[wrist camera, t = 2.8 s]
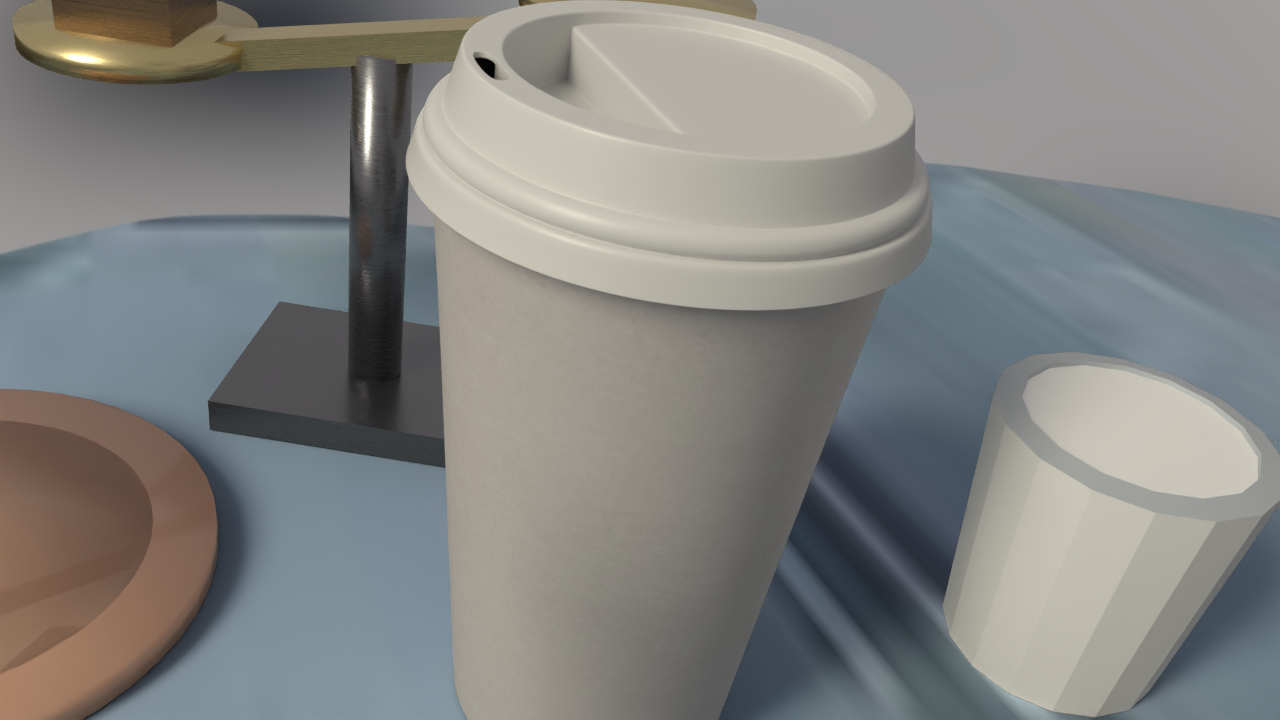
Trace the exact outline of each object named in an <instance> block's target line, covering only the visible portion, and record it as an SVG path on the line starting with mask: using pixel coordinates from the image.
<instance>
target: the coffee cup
mask: <svg viewBox="0 0 1280 720" xmlns="http://www.w3.org/2000/svg"><path fill="white" fill-rule="evenodd" d="M406 170H407V174H408V177H409V180H410V182H411V184H412V186H413V188H414V190H415V192H416V193H417V195H418V196H419V197H420V199H421V200H422V201H423V203H424V204H425V205H426V206H427V207H428V208H429V209H430V210H431V211H432V212H433V213H434V226H435V245H436V264H437V284H438V304H439V326H440V348H441V370H442V394H443V417H444V442H445V466H446V491H447V516H448V541H449V566H450V592H451V618H452V644H453V668H454V682H455V689H456V693H457V697H458V700H459V703H460V705H461V708H462V710H463V712H464V714H465V716H466V717H467V719H468V720H718V719H719V717H720V714H721V712H722V709H723V707H724V704H725V702H726V699H727V696H728V694H729V691H730V689H731V686H732V683H733V681H734V678H735V676H736V673H737V670H738V668H739V665H740V663H741V660H742V657H743V655H744V652H745V649H746V647H747V644H748V642H749V639H750V636H751V634H752V631H753V629H754V626H755V623H756V621H757V618H758V616H759V613H760V610H761V608H762V605H763V603H764V600H765V597H766V595H767V592H768V590H769V587H770V584H771V582H772V579H773V577H774V574H775V571H776V569H777V566H778V564H779V561H780V558H781V556H782V553H783V551H784V548H785V545H786V543H787V540H788V538H789V535H790V532H791V530H792V527H793V525H794V522H795V519H796V517H797V514H798V512H799V509H800V506H801V504H802V501H803V499H804V496H805V493H806V491H807V488H808V486H809V483H810V480H811V478H812V475H813V473H814V470H815V468H816V465H817V462H818V460H819V457H820V455H821V452H822V449H823V447H824V444H825V442H826V439H827V437H828V434H829V431H830V429H831V426H832V424H833V421H834V419H835V416H836V413H837V411H838V408H839V406H840V403H841V401H842V398H843V396H844V393H845V390H846V388H847V385H848V383H849V380H850V378H851V375H852V373H853V370H854V368H855V365H856V363H857V360H858V357H859V355H860V352H861V350H862V347H863V345H864V342H865V340H866V337H867V335H868V332H869V330H870V327H871V325H872V322H873V320H874V317H875V315H876V312H877V310H878V307H879V305H880V302H881V300H882V297H883V295H884V292H885V290H886V288H887V287H889V286H891V285H893V284H895V283H897V282H898V281H900V280H902V279H903V278H905V277H906V276H908V275H909V274H910V273H911V272H913V271H914V270H915V269H916V268H917V267H918V266H919V265H920V264H921V262H922V261H923V260H924V258H925V256H926V255H927V253H928V251H929V248H930V244H931V239H932V198H931V193H930V189H929V177H928V173H927V170H926V167H925V164H924V162H923V160H922V158H921V157H920V155H919V153H918V152H917V151H916V149H915V111H914V107H913V104H912V102H911V100H910V98H909V96H908V95H907V93H906V92H905V91H904V90H903V89H902V88H901V87H900V85H898V84H897V83H896V82H895V81H894V80H893V79H892V78H890V77H889V76H888V75H886V74H885V73H884V72H882V71H881V70H879V69H878V68H876V67H874V66H873V65H871V64H870V63H868V62H866V61H864V60H862V59H860V58H859V57H857V56H854V55H853V54H851V53H848V52H846V51H844V50H842V49H840V48H837V47H835V46H833V45H830V44H828V43H825V42H823V41H820V40H817V39H815V38H812V37H809V36H806V35H803V34H800V33H797V32H794V31H791V30H788V29H784V28H781V27H777V26H774V25H770V24H766V23H762V22H759V21H755V20H751V19H747V18H742V17H738V16H733V15H728V14H723V13H718V12H713V11H707V10H702V9H695V8H689V7H682V6H675V5H666V4H657V3H647V2H634V1H616V0H572V1H556V2H546V3H538V4H531V5H525V6H520V7H516V8H512V9H508V10H505V11H501V12H498V13H495V14H493V15H490V16H488V17H486V18H484V19H482V20H481V21H479V22H477V23H476V24H475V25H473V26H472V27H471V28H470V29H469V30H468V31H467V33H466V34H465V36H464V37H463V40H462V42H461V45H460V47H459V50H458V53H457V56H456V59H455V62H454V65H453V68H452V71H451V73H449V74H448V75H446V76H445V77H444V78H443V79H442V80H441V81H440V82H439V83H438V84H437V85H436V86H435V87H434V89H433V90H432V91H431V93H430V95H429V97H428V98H427V101H426V103H425V106H424V108H423V109H422V111H421V112H420V114H419V116H418V119H417V122H416V125H415V128H414V132H413V135H412V138H411V141H410V143H409V146H408V149H407V153H406Z"/></svg>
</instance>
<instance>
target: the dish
mask: <svg viewBox="0 0 1280 720" xmlns="http://www.w3.org/2000/svg"><path fill="white" fill-rule="evenodd" d="M217 554H218V527H217V514H216V507H215V500H214V495H213V492H212V490H211V487H210V484H209V482H208V479H207V477H206V475H205V474H204V472H203V470H202V469H201V467H200V466H199V464H198V463H197V461H196V459H195V458H194V457H193V456H192V455H191V454H190V453H189V452H188V451H187V450H186V449H185V448H184V447H183V446H182V445H181V444H180V443H179V442H178V441H177V440H175V439H174V438H173V437H171V436H170V435H169V434H167V433H166V432H165V431H163V430H162V429H160V428H158V427H157V426H155V425H153V424H151V423H150V422H148V421H146V420H144V419H142V418H141V417H138V416H136V415H133V414H131V413H129V412H126V411H124V410H121V409H119V408H116V407H113V406H110V405H106V404H103V403H100V402H96V401H93V400H89V399H84V398H79V397H74V396H69V395H64V394H58V393H50V392H41V391H33V390H15V389H0V720H82V719H84V718H86V717H88V716H89V715H91V714H93V713H94V712H96V711H98V710H99V709H101V708H102V707H104V706H105V705H106V704H108V703H109V702H111V701H112V700H113V699H115V698H116V697H117V696H119V695H120V694H122V693H123V692H124V691H126V690H127V689H129V688H130V687H131V686H133V685H134V684H135V683H136V682H137V681H138V680H139V679H140V678H142V677H143V676H144V675H145V674H146V673H147V672H148V671H149V670H151V669H152V668H153V667H154V666H155V665H156V664H157V663H158V662H159V661H160V660H161V659H162V658H163V657H164V656H165V655H166V654H167V653H168V651H169V650H170V649H171V648H172V647H173V646H174V645H175V644H176V642H177V641H178V640H179V639H180V638H181V637H182V635H183V634H184V633H185V631H186V630H187V628H188V627H189V625H190V624H191V622H192V621H193V619H194V618H195V616H196V615H197V613H198V612H199V610H200V608H201V606H202V604H203V601H204V599H205V597H206V595H207V593H208V591H209V589H210V586H211V583H212V579H213V575H214V572H215V568H216V564H217Z"/></svg>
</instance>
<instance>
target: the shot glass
mask: <svg viewBox="0 0 1280 720" xmlns="http://www.w3.org/2000/svg"><path fill="white" fill-rule="evenodd" d="M1279 505H1280V455H1279V453H1278V452H1277V451H1276V449H1275V448H1274V446H1273V445H1272V443H1271V442H1270V441H1269V439H1268V438H1267V436H1266V435H1265V433H1264V432H1263V431H1262V430H1260V429H1259V428H1258V427H1256V426H1255V425H1254V424H1253V423H1251V422H1250V421H1249V420H1248V419H1246V418H1245V417H1244V416H1242V415H1241V414H1240V413H1239V412H1237V411H1236V410H1235V409H1234V408H1232V407H1231V406H1230V405H1228V404H1227V403H1226V402H1225V401H1223V400H1221V399H1219V398H1217V397H1215V396H1213V395H1211V394H1209V393H1207V392H1205V391H1203V390H1201V389H1199V388H1197V387H1196V386H1194V385H1192V384H1190V383H1188V382H1186V381H1184V380H1182V379H1180V378H1178V377H1176V376H1173V375H1170V374H1167V373H1164V372H1161V371H1158V370H1155V369H1152V368H1149V367H1146V366H1143V365H1140V364H1137V363H1134V362H1130V361H1127V360H1124V359H1119V358H1112V357H1106V356H1099V355H1092V354H1085V353H1078V352H1064V353H1051V354H1039V355H1031V356H1029V357H1027V358H1025V359H1023V360H1021V361H1019V362H1017V363H1015V364H1013V365H1011V366H1009V367H1007V368H1005V369H1004V370H1003V372H1002V375H1001V377H1000V379H999V382H998V384H997V387H996V389H995V391H994V395H993V399H992V403H991V407H990V411H989V415H988V420H987V424H986V428H985V432H984V436H983V440H982V445H981V449H980V453H979V457H978V461H977V465H976V470H975V474H974V478H973V482H972V486H971V490H970V495H969V499H968V503H967V507H966V511H965V515H964V519H963V524H962V528H961V532H960V536H959V540H958V544H957V549H956V553H955V557H954V561H953V565H952V569H951V574H950V578H949V582H948V586H947V590H946V594H945V598H944V603H943V610H944V615H945V619H946V623H947V627H948V631H949V635H950V637H951V638H952V639H953V641H954V642H955V643H956V645H957V646H958V647H959V649H960V650H961V652H962V653H963V654H964V656H965V657H966V658H967V660H968V661H969V662H970V664H971V665H972V666H973V667H974V668H976V669H977V670H978V671H980V672H981V673H982V674H984V675H985V676H986V677H988V678H989V679H990V680H992V681H993V682H994V683H996V684H997V685H998V686H1000V687H1001V688H1002V689H1004V690H1005V691H1006V692H1008V693H1009V694H1012V695H1014V696H1016V697H1019V698H1021V699H1024V700H1026V701H1028V702H1031V703H1033V704H1035V705H1038V706H1040V707H1043V708H1045V709H1047V710H1050V711H1052V712H1060V713H1067V714H1074V715H1081V716H1089V717H1099V716H1104V715H1108V714H1113V713H1117V712H1122V711H1127V710H1130V709H1131V708H1132V707H1133V706H1134V705H1135V704H1136V703H1137V702H1138V701H1139V700H1141V699H1142V698H1143V697H1144V696H1145V695H1146V694H1147V693H1148V692H1149V691H1150V690H1151V688H1152V687H1153V685H1154V684H1155V683H1156V681H1157V680H1158V678H1159V677H1160V675H1161V674H1162V673H1163V671H1164V670H1165V668H1166V667H1167V665H1168V664H1169V663H1170V661H1171V660H1172V658H1173V657H1174V655H1175V654H1176V652H1177V651H1178V650H1179V648H1180V647H1181V645H1182V644H1183V642H1184V641H1185V640H1186V638H1187V637H1188V635H1189V634H1190V632H1191V631H1192V630H1193V628H1194V627H1195V625H1196V624H1197V622H1198V621H1199V620H1200V618H1201V617H1202V615H1203V614H1204V612H1205V611H1206V610H1207V608H1208V607H1209V605H1210V604H1211V602H1212V601H1213V600H1214V598H1215V597H1216V595H1217V594H1218V592H1219V591H1220V590H1221V588H1222V587H1223V585H1224V584H1225V582H1226V581H1227V580H1228V578H1229V577H1230V575H1231V574H1232V572H1233V571H1234V570H1235V568H1236V567H1237V565H1238V564H1239V562H1240V561H1241V560H1242V558H1243V557H1244V555H1245V554H1246V552H1247V551H1248V549H1249V548H1250V547H1251V545H1252V544H1253V542H1254V541H1255V539H1256V538H1257V537H1258V535H1259V534H1260V532H1261V531H1262V529H1263V528H1264V527H1265V525H1266V524H1267V522H1268V521H1269V519H1270V518H1271V517H1272V515H1273V514H1274V512H1275V511H1276V509H1277V508H1278V507H1279Z"/></svg>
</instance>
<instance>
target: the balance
mask: <svg viewBox="0 0 1280 720" xmlns="http://www.w3.org/2000/svg"><path fill="white" fill-rule="evenodd" d="M556 1H572V0H519V5H520V6H525V5H531V4H538V3H546V2H556ZM616 1H634V2H647V3H657V4H666V5H675V6H682V7H689V8H695V9H702V10H707V11H713V12H718V13H723V14H728V15H733V16H738V17H742V18H747V19H751V20H755V18H756V13H757V8H756V5H755V4H754V2H753V1H752V0H616ZM486 17H488V16H485V17H464V18H445V19H425V20H405V21H386V22H367V23H346V24H327V25H307V26H287V27H268V28H258V25H257V22H256V21H255V20H254V18H252V17H251V16H250V15H249V14H247V13H246V12H244V11H242V10H240V9H238V8H236V7H234V6H232V5H229V4H226V3H223V2H220V1H217V0H36V1H33V2H31V3H28V4H26V5H25V6H23V7H21V8H20V9H19V10H18V11H16V13H15V14H14V16H13V18H12V25H13V32H14V39H15V46H16V49H17V51H18V52H19V53H20V55H21V56H23V57H24V58H25V59H26V60H28V61H30V62H31V63H33V64H35V65H37V66H40V67H42V68H44V69H47V70H50V71H53V72H56V73H59V74H63V75H67V76H72V77H76V78H82V79H87V80H95V81H102V82H112V83H124V84H171V83H183V82H192V81H199V80H205V79H211V78H216V77H219V76H223V75H227V74H230V73H233V72H238V71H259V70H280V69H302V68H322V67H344V66H351V124H350V222H349V313H347V312H341V311H335V310H329V309H323V308H316V307H310V306H304V305H298V304H292V303H285V302H279V303H278V304H277V306H276V307H275V309H274V310H273V311H272V313H271V314H270V316H269V317H268V318H267V320H266V321H265V323H264V324H263V325H262V327H261V328H260V329H259V331H258V332H257V334H256V335H255V336H254V338H253V339H252V341H251V342H250V343H249V345H248V346H247V348H246V349H245V350H244V352H243V353H242V354H241V356H240V357H239V359H238V360H237V361H236V363H235V364H234V366H233V367H232V368H231V370H230V371H229V373H228V374H227V375H226V377H225V378H224V380H223V381H222V382H221V384H220V385H219V386H218V388H217V389H216V391H215V392H214V393H213V395H212V396H211V398H210V399H209V400H208V407H209V423H210V429H211V430H217V431H223V432H230V433H236V434H242V435H248V436H255V437H261V438H267V439H273V440H279V441H286V442H292V443H298V444H304V445H311V446H317V447H323V448H329V449H336V450H342V451H348V452H354V453H360V454H367V455H373V456H379V457H385V458H392V459H398V460H404V461H410V462H416V463H423V464H429V465H435V466H441V467H446V466H445V442H444V417H443V394H442V370H441V348H440V327H434V326H428V325H422V324H416V323H410V322H403V312H404V286H405V259H406V233H407V207H408V179H409V177H408V174H407V170H406V153H407V149H408V146H409V143H410V128H411V127H410V126H411V102H412V75H413V63H429V62H449V61H450V62H451V61H455V59H456V56H457V53H458V50H459V47H460V45H461V42H462V40H463V37H464V36H465V34H466V33H467V31H468V30H469V29H470V28H471V27H472V26H473V25H475V24H476V23H477V22H479V21H481V20H482V19H484V18H486Z"/></svg>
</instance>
